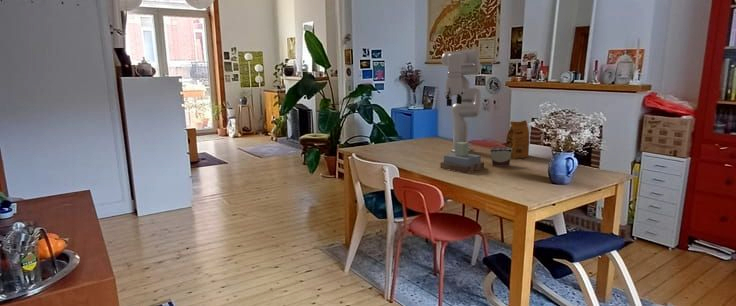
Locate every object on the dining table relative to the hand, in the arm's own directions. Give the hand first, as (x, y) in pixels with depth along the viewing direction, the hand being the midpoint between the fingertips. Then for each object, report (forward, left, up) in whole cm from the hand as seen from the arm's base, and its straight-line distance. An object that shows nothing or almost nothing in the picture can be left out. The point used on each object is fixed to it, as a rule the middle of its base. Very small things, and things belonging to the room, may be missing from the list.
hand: (454, 104), depth 277 cm
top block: (+13, +15, -30) cm, 36 cm away
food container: (-7, +27, -34) cm, 44 cm away
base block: (+13, +15, -34) cm, 39 cm away
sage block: (+13, +15, -26) cm, 33 cm away
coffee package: (-31, +24, -34) cm, 51 cm away
